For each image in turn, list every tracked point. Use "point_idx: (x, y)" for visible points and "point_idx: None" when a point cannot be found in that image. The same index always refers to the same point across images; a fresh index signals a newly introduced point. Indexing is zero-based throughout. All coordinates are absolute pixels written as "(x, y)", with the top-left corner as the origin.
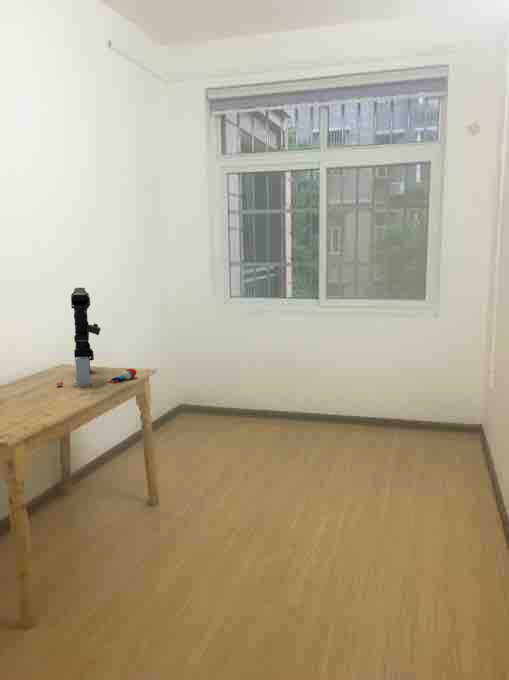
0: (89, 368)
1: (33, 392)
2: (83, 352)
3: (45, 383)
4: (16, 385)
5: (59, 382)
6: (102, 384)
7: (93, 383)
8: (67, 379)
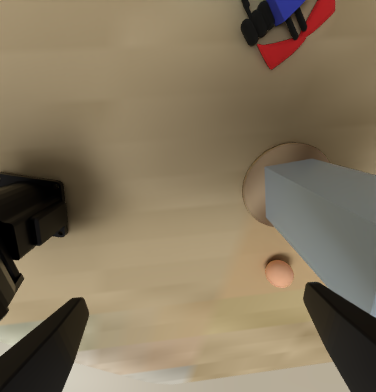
0: (20, 187)
1: None
2: (346, 307)
3: (209, 307)
4: (212, 362)
5: (293, 276)
6: (306, 98)
7: (300, 143)
8: (163, 253)
